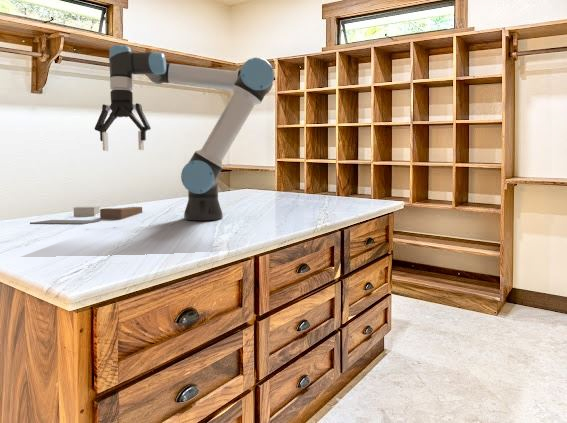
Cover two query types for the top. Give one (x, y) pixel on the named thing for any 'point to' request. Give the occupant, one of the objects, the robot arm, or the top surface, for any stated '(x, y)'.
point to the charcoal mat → (65, 222)
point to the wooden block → (119, 212)
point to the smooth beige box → (86, 211)
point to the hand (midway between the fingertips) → (123, 150)
